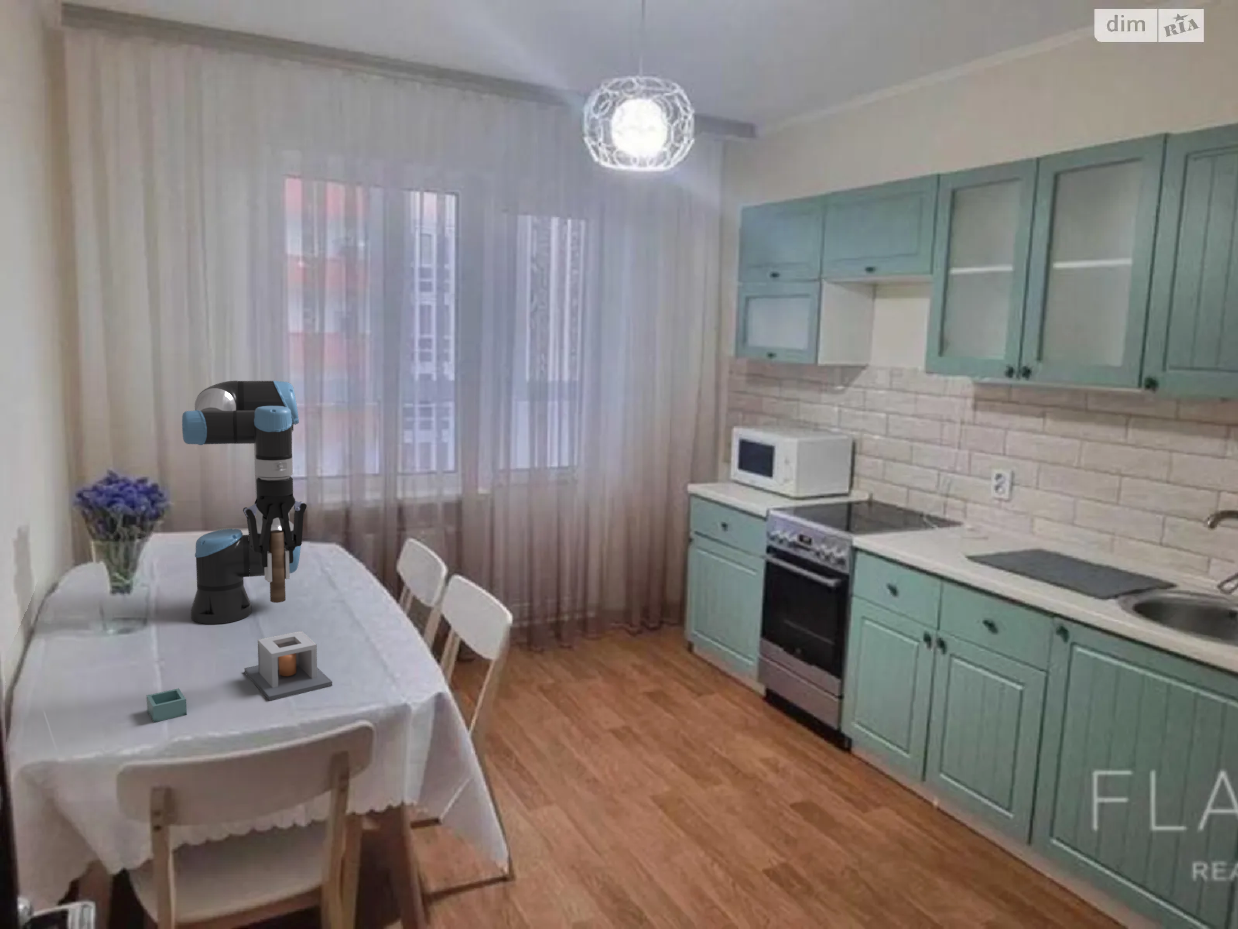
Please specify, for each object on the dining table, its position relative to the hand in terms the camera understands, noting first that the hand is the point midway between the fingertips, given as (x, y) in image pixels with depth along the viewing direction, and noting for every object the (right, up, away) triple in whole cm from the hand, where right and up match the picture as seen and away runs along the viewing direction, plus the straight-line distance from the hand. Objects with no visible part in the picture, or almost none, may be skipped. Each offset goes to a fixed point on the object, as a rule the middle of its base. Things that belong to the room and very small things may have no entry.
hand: (277, 578), depth 193 cm
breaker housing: (0, -24, +6) cm, 25 cm away
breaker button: (0, -22, +5) cm, 23 cm away
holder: (-18, -26, -13) cm, 34 cm away
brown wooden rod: (0, -5, +1) cm, 5 cm away
